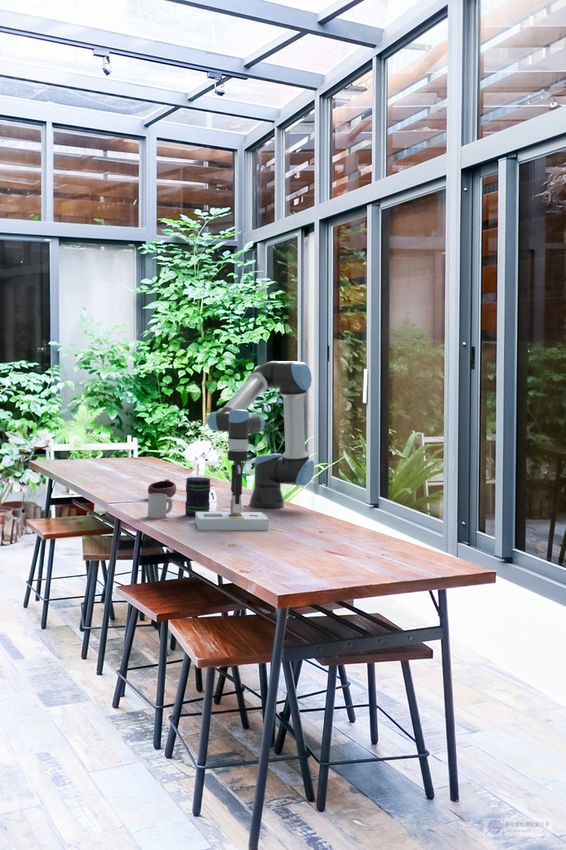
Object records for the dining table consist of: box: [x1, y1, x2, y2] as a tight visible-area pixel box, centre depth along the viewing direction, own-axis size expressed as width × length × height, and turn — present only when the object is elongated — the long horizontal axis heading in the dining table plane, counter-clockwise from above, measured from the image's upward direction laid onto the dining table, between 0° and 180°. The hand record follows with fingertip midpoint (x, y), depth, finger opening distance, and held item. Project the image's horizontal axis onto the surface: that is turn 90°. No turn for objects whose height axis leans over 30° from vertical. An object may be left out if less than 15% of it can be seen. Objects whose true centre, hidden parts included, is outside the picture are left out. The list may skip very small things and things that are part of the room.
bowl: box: [147, 478, 177, 499], centre depth 369 cm, size 16×13×8 cm
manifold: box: [194, 511, 270, 531], centre depth 308 cm, size 16×26×4 cm, turn 101°
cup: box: [147, 493, 173, 520], centre depth 322 cm, size 7×10×9 cm
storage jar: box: [184, 476, 211, 518], centre depth 329 cm, size 10×10×15 cm
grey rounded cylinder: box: [229, 499, 242, 516], centre depth 309 cm, size 4×4×10 cm
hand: (235, 510), depth 309 cm, fingers open, 5 cm apart
